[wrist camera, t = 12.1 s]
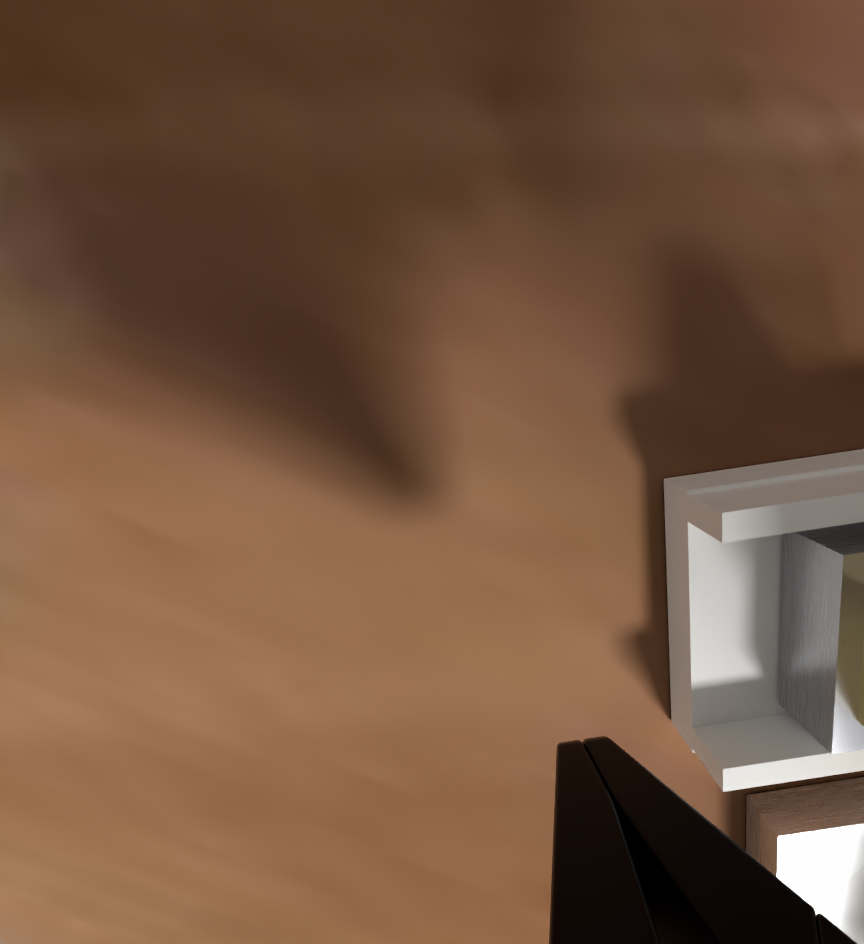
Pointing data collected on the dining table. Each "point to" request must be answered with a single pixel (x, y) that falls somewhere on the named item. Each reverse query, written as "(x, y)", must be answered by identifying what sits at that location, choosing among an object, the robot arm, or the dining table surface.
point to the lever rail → (746, 611)
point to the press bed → (814, 846)
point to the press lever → (824, 634)
